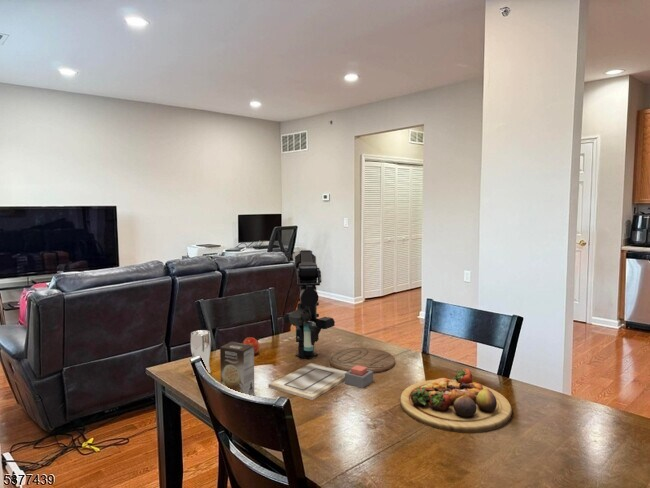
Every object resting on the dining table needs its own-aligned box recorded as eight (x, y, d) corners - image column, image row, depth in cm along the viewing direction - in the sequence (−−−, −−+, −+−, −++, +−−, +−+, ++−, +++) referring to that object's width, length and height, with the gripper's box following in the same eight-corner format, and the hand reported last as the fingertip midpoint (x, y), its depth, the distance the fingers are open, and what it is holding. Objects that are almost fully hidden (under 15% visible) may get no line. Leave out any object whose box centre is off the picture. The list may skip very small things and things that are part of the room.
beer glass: (214, 370, 164) (213, 330, 163) (207, 377, 157) (206, 335, 156) (196, 369, 165) (194, 329, 164) (188, 376, 158) (187, 335, 157)
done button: (356, 373, 155) (356, 365, 155) (367, 376, 153) (367, 367, 152) (350, 377, 152) (350, 368, 151) (361, 379, 149) (361, 371, 149)
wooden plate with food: (436, 377, 157) (436, 354, 156) (530, 405, 134) (530, 379, 133) (378, 409, 135) (377, 382, 134) (478, 448, 112) (478, 417, 111)
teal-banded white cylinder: (307, 347, 161) (307, 322, 160) (315, 349, 159) (315, 324, 158) (301, 350, 158) (301, 324, 157) (309, 351, 156) (309, 326, 155)
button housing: (355, 376, 157) (355, 367, 157) (373, 381, 153) (373, 371, 153) (344, 383, 151) (344, 373, 151) (363, 388, 147) (363, 377, 147)
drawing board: (310, 365, 168) (310, 362, 168) (352, 375, 158) (352, 372, 158) (268, 387, 149) (268, 383, 149) (312, 400, 139) (312, 396, 138)
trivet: (405, 359, 176) (405, 354, 176) (377, 380, 155) (377, 374, 155) (349, 348, 189) (349, 344, 189) (316, 366, 168) (316, 361, 168)
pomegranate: (245, 363, 177) (265, 347, 178) (233, 349, 177) (253, 333, 178) (246, 359, 185) (265, 343, 186) (235, 345, 184) (254, 329, 185)
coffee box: (219, 396, 142) (218, 346, 140) (232, 388, 147) (231, 341, 146) (244, 401, 138) (242, 350, 136) (255, 393, 144) (254, 344, 142)
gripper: (272, 301, 156) (273, 345, 157) (315, 307, 145) (316, 355, 146) (293, 295, 165) (293, 337, 166) (335, 301, 154) (335, 346, 155)
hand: (308, 344), depth 158 cm, fingers closed on teal-banded white cylinder, 3 cm apart
